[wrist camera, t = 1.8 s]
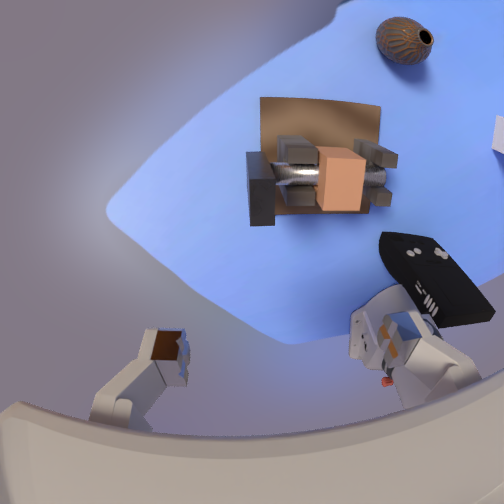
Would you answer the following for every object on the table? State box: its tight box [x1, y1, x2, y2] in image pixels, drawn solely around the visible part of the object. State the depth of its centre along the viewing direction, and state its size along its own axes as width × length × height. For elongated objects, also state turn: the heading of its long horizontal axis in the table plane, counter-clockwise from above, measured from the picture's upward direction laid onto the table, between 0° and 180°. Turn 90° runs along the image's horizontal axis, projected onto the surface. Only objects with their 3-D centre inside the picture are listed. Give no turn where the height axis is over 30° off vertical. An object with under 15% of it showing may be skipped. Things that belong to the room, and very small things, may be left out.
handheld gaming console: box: [379, 232, 496, 329], centre depth 35 cm, size 12×5×20 cm, turn 84°
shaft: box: [246, 152, 386, 226], centre depth 26 cm, size 4×15×10 cm, turn 91°
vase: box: [376, 17, 434, 65], centre depth 23 cm, size 7×7×9 cm
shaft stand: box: [260, 97, 398, 215], centre depth 32 cm, size 16×16×10 cm
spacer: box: [311, 146, 366, 211], centre depth 28 cm, size 5×4×6 cm
